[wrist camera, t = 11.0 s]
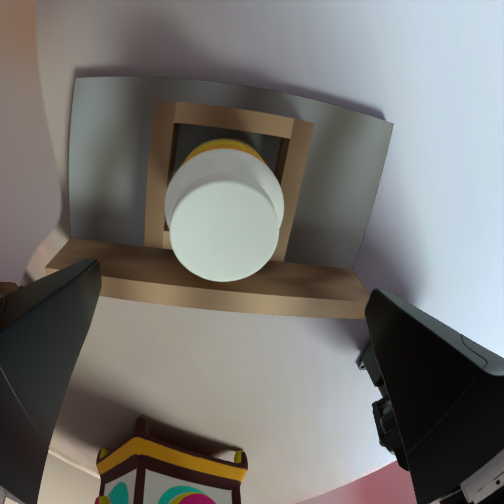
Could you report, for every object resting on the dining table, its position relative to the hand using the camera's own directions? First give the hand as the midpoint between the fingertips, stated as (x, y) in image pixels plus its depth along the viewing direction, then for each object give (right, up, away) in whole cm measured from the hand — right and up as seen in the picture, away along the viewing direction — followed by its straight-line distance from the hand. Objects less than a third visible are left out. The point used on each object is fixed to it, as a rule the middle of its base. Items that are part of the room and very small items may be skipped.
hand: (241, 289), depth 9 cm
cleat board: (-2, +6, +11) cm, 13 cm away
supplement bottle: (-2, +6, +10) cm, 12 cm away
